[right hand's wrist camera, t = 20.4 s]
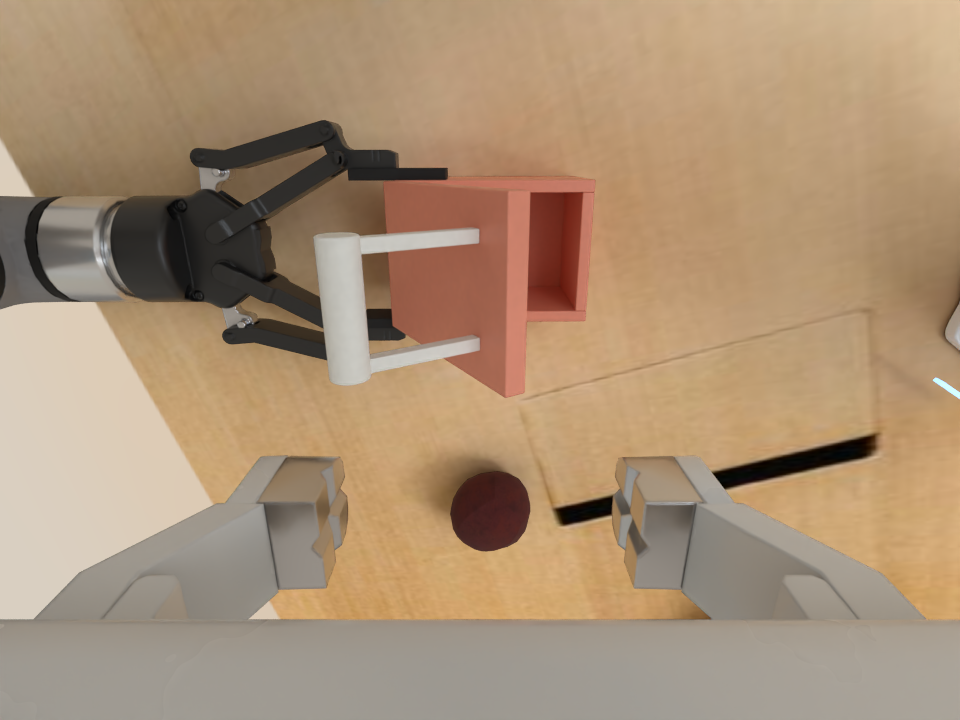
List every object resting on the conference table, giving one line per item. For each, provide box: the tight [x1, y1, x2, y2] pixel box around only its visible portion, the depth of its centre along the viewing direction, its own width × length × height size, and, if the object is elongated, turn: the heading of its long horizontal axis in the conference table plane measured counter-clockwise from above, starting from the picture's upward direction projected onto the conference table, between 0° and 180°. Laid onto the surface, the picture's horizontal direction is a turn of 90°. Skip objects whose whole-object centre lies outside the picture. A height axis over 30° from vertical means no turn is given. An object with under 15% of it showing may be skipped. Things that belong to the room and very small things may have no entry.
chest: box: [394, 176, 595, 321], centre depth 40 cm, size 13×10×9 cm
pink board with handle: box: [313, 181, 530, 398], centre depth 28 cm, size 14×10×9 cm
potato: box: [450, 471, 530, 551], centre depth 50 cm, size 7×8×7 cm
